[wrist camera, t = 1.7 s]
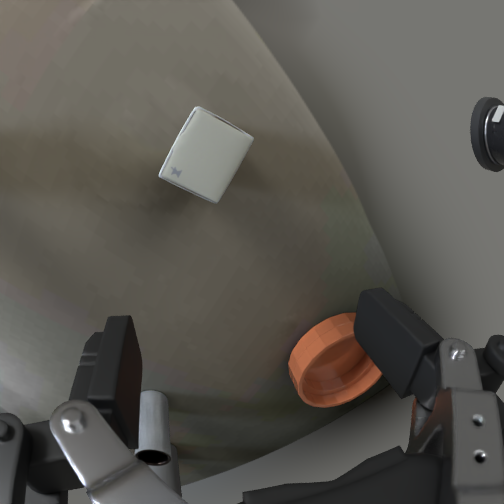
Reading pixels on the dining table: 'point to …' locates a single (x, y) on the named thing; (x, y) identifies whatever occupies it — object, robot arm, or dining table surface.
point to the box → (206, 155)
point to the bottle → (170, 472)
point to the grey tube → (154, 429)
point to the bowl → (331, 364)
